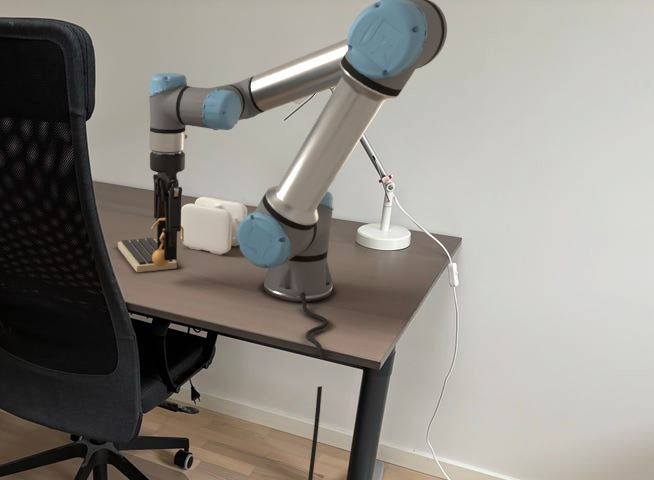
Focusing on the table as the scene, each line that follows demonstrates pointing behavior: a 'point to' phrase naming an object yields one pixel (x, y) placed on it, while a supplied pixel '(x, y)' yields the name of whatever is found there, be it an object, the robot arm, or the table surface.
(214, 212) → the cable organizer
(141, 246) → the keyboard
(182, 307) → the table surface
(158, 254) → the figurine
